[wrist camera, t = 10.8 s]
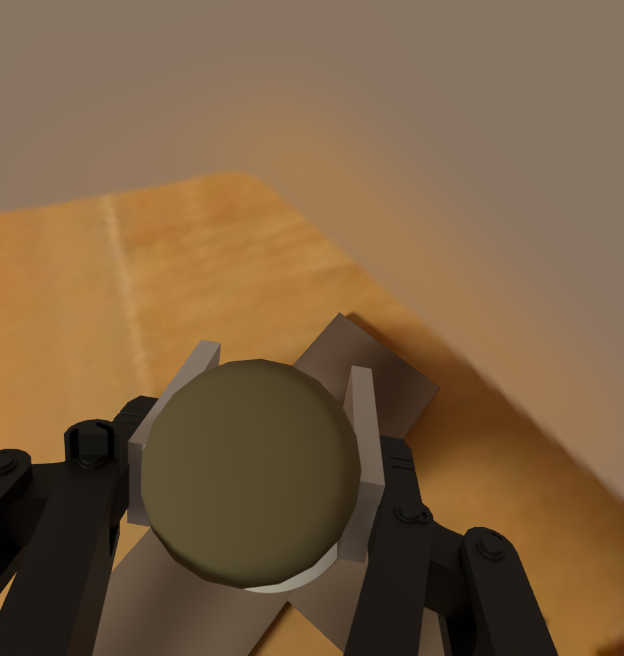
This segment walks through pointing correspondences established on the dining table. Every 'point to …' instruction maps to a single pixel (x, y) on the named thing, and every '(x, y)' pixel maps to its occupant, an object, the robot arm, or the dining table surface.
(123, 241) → the dining table surface
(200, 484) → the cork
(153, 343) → the dining table surface
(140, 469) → the robot arm
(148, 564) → the walnut T board
